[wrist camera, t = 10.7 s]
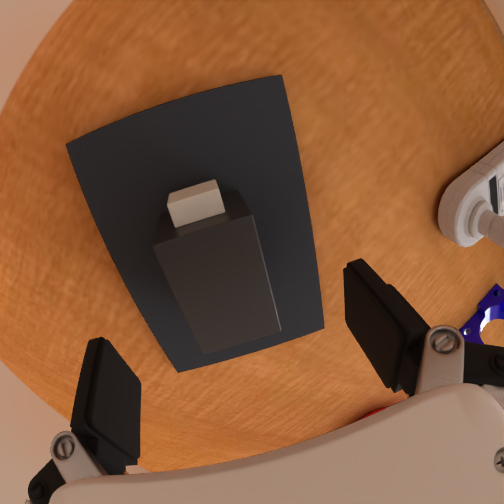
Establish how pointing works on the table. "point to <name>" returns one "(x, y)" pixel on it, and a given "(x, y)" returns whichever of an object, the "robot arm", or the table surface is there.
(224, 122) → the desk mat
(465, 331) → the cable holder
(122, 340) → the table surface
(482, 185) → the electronic device
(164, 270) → the block
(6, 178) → the table surface
